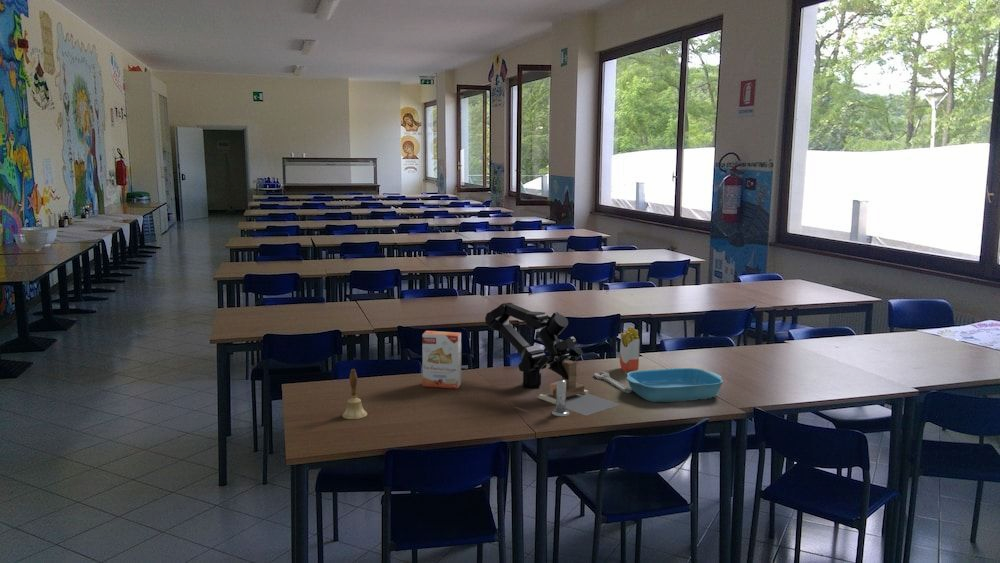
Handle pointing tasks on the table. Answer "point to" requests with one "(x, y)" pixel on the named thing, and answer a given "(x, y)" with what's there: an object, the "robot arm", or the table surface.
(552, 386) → the terracotta block
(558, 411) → the grey metal stick
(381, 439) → the table surface
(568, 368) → the wooden block on base
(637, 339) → the french fries container
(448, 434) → the table surface
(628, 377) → the casserole dish
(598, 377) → the adjustable wrench
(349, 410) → the hand bell
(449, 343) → the cracker box
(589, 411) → the mat
